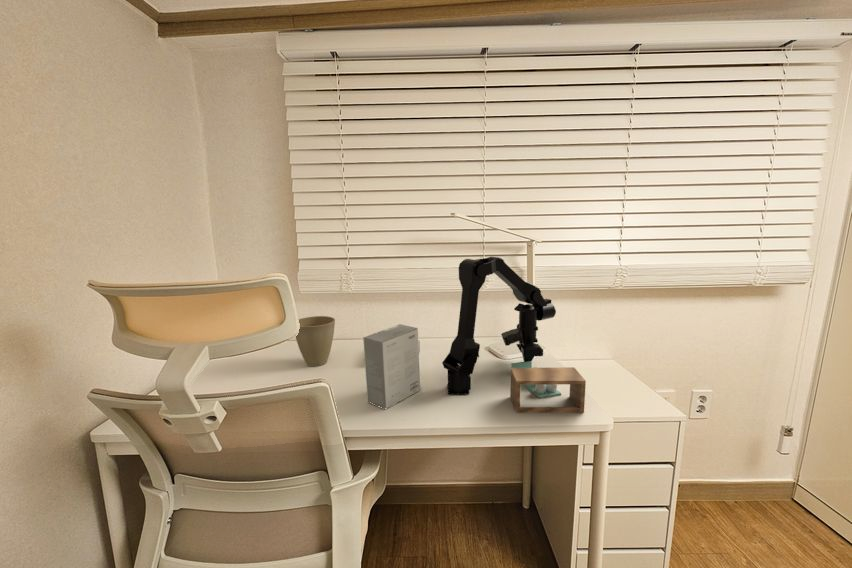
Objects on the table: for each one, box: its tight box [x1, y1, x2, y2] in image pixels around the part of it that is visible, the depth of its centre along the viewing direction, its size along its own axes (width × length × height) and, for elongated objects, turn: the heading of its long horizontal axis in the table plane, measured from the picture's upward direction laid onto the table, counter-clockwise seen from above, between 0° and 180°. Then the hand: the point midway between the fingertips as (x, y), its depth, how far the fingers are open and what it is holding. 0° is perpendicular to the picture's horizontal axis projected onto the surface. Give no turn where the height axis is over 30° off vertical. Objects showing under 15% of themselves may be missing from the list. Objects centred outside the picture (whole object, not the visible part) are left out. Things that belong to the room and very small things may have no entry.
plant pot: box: [295, 315, 336, 367], centre depth 142 cm, size 15×15×16 cm
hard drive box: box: [362, 324, 421, 410], centre depth 114 cm, size 16×8×20 cm, turn 141°
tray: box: [510, 361, 562, 399], centre depth 121 cm, size 18×7×5 cm, turn 14°
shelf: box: [509, 366, 586, 413], centre depth 108 cm, size 18×9×9 cm, turn 88°
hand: (526, 366), depth 133 cm, fingers closed
